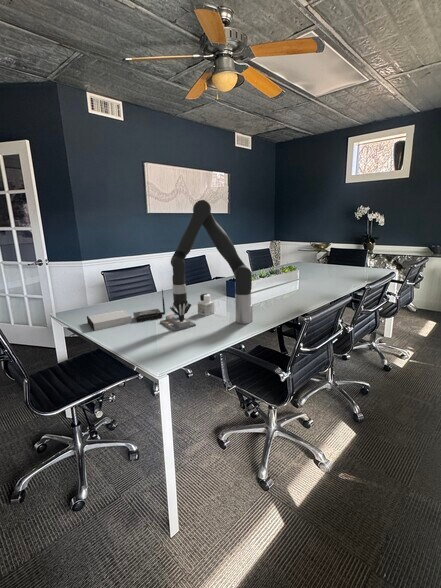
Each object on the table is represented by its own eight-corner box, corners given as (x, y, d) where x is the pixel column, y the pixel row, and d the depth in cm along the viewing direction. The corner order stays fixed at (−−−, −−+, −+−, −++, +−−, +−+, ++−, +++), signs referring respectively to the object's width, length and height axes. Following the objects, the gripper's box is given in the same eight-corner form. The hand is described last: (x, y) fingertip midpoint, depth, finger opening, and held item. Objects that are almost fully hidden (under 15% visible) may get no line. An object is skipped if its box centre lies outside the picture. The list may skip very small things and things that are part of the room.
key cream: (183, 322, 172) (183, 319, 172) (187, 324, 169) (187, 321, 168) (176, 324, 170) (176, 321, 170) (180, 326, 166) (180, 323, 166)
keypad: (181, 317, 186) (180, 312, 185) (195, 325, 171) (195, 320, 170) (160, 322, 179) (159, 317, 178) (173, 331, 163) (173, 325, 162)
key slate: (179, 317, 177) (178, 314, 176) (182, 319, 173) (182, 316, 173) (172, 319, 175) (172, 316, 174) (175, 321, 171) (175, 317, 170)
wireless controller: (137, 323, 179) (134, 296, 175) (133, 317, 192) (130, 292, 187) (169, 318, 188) (167, 292, 183) (163, 312, 200) (161, 287, 196)
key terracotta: (174, 317, 182) (174, 314, 182) (178, 319, 179) (177, 316, 178) (168, 319, 180) (168, 316, 179) (171, 321, 176) (171, 317, 176)
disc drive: (87, 323, 183) (86, 316, 182) (124, 316, 195) (123, 309, 194) (93, 331, 169) (91, 323, 168) (132, 323, 181) (131, 315, 179)
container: (197, 313, 193) (196, 294, 190) (206, 311, 198) (205, 292, 195) (206, 316, 188) (205, 296, 185) (214, 313, 193) (213, 293, 190)
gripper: (187, 288, 171) (188, 317, 176) (165, 292, 164) (168, 321, 169) (193, 291, 165) (194, 320, 170) (171, 295, 158) (173, 325, 162)
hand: (181, 321), depth 169 cm, fingers closed
